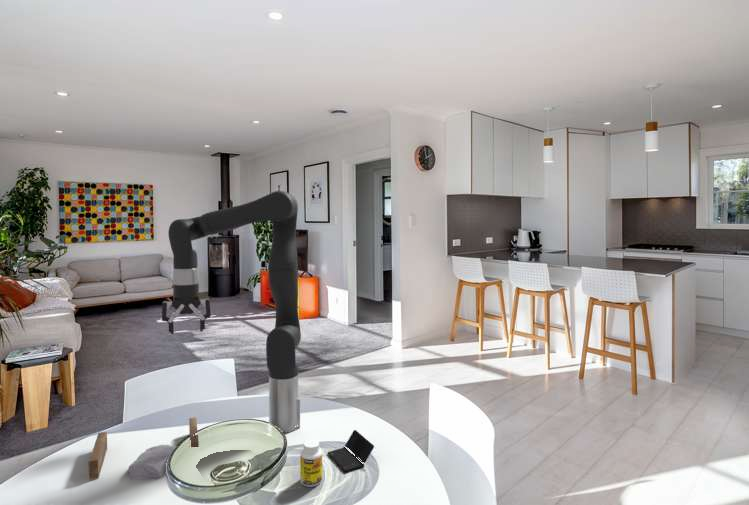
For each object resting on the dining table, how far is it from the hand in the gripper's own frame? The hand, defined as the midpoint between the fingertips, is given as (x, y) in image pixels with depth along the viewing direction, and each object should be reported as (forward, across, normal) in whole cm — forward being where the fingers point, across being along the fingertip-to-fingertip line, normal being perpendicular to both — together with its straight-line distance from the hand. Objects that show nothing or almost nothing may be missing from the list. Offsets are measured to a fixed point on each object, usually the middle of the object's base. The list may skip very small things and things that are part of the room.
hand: (187, 332), depth 142 cm
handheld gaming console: (+31, -41, +40) cm, 65 cm away
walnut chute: (+30, +11, +16) cm, 36 cm away
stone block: (+31, +9, +23) cm, 39 cm away
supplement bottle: (+30, -28, +46) cm, 62 cm away
